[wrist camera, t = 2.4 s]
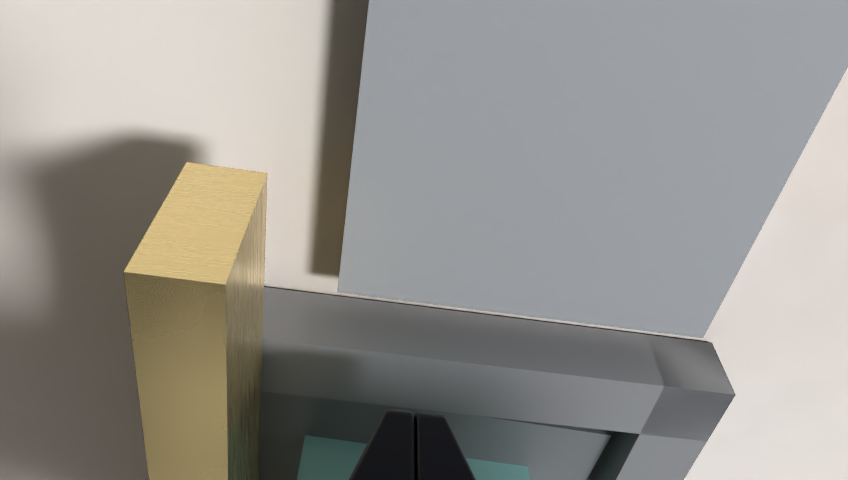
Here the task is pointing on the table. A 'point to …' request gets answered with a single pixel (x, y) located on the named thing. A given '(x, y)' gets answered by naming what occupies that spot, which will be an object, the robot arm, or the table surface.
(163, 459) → the clip
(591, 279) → the pad
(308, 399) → the plug
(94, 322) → the table surface
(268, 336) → the socket
